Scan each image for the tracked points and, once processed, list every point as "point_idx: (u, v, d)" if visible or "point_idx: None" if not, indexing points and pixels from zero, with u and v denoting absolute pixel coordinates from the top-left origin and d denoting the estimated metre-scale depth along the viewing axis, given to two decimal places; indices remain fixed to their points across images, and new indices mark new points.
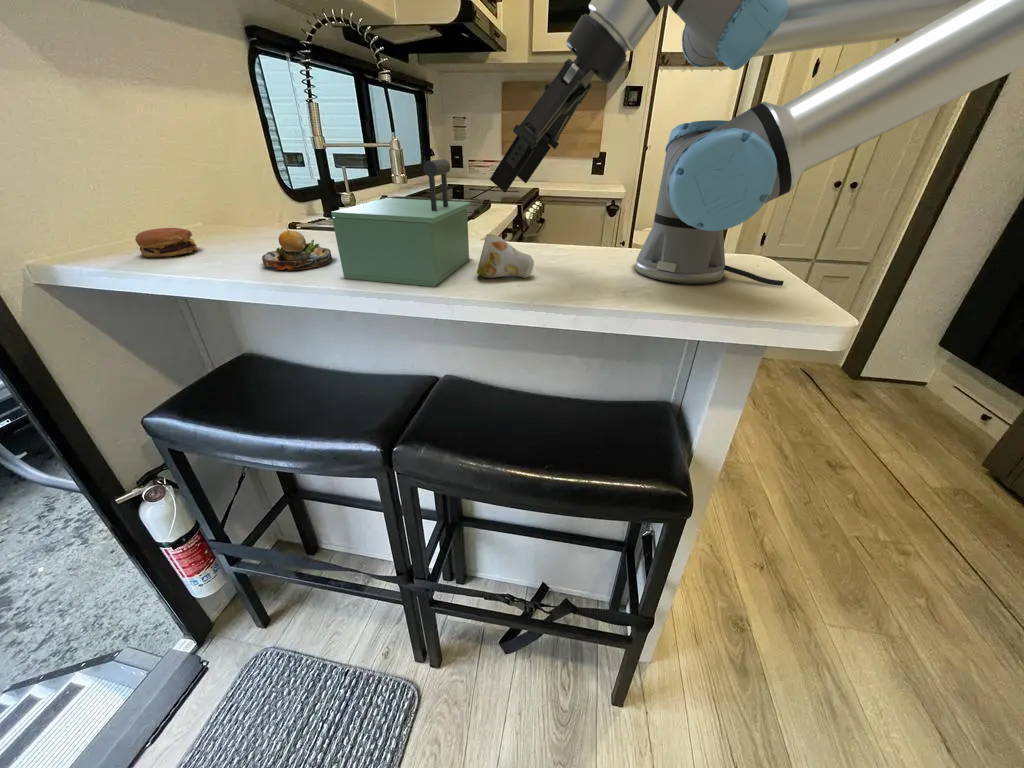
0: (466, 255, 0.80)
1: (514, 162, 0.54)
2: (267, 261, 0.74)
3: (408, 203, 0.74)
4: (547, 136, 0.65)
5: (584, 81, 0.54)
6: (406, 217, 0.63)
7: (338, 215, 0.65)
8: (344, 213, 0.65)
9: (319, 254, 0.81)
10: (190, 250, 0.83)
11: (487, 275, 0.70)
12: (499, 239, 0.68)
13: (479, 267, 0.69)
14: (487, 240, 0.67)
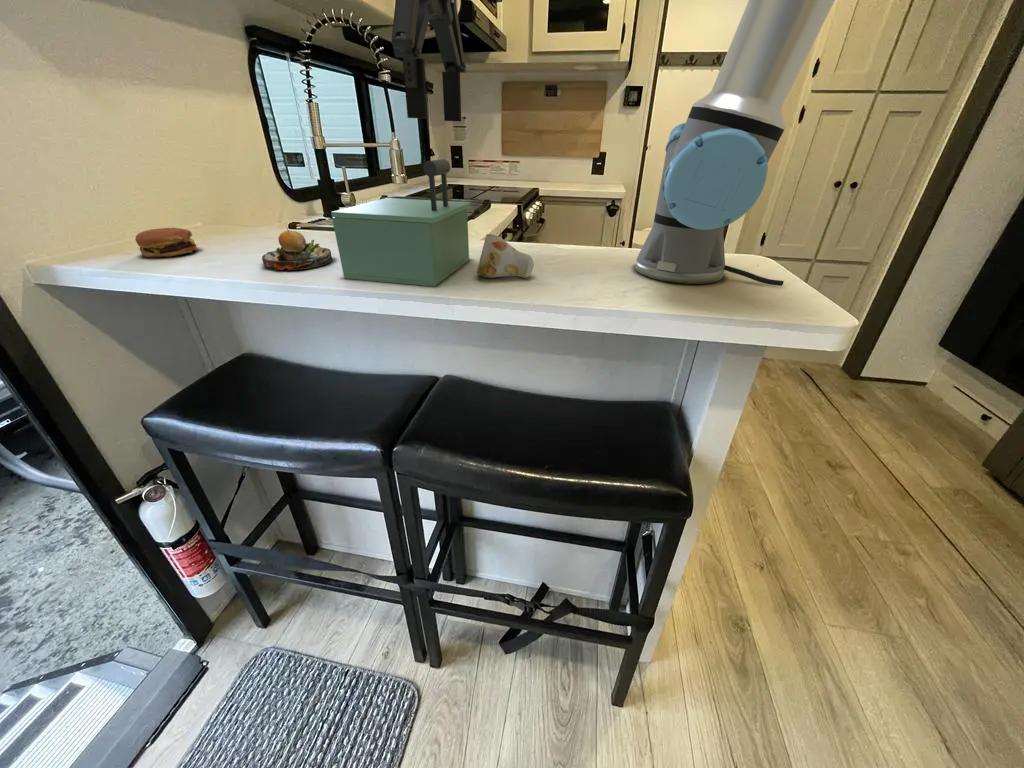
0: (466, 255, 0.80)
1: (413, 81, 0.54)
2: (267, 261, 0.74)
3: (408, 203, 0.74)
4: (451, 66, 0.65)
5: None
6: (406, 217, 0.63)
7: (338, 215, 0.65)
8: (344, 213, 0.65)
9: (319, 254, 0.81)
10: (190, 250, 0.83)
11: (487, 275, 0.70)
12: (499, 239, 0.68)
13: (479, 267, 0.69)
14: (487, 240, 0.67)
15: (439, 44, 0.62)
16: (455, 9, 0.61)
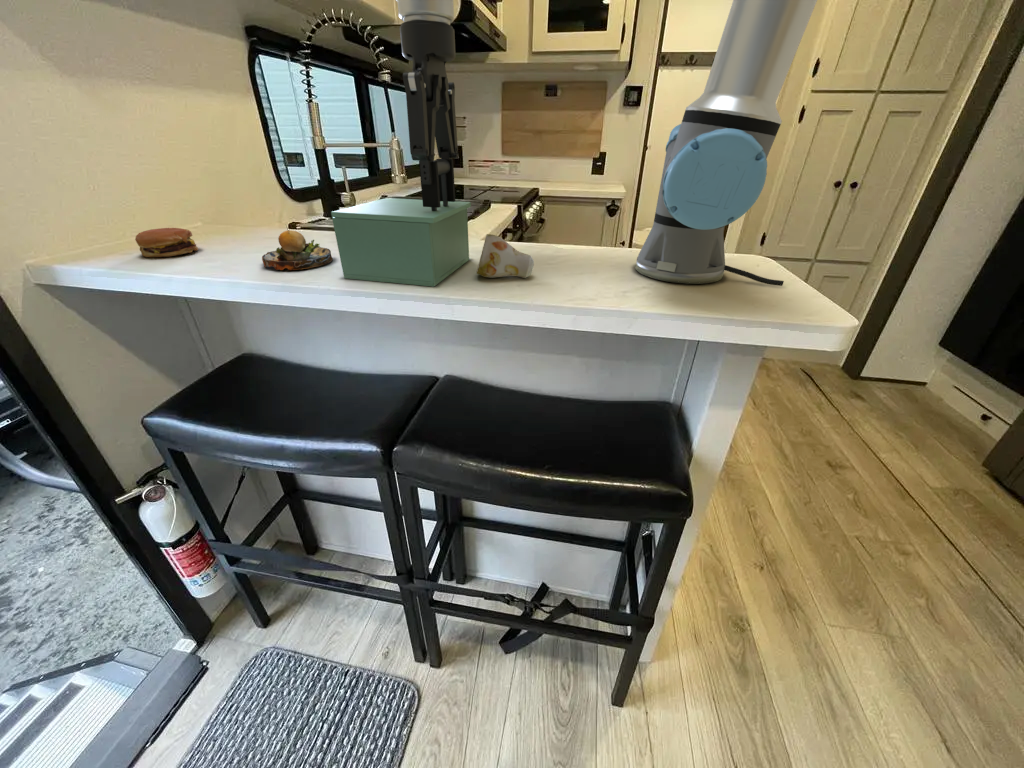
0: (466, 255, 0.80)
1: (428, 180, 0.63)
2: (267, 261, 0.74)
3: (408, 203, 0.74)
4: (445, 151, 0.68)
5: (434, 70, 0.59)
6: (406, 217, 0.63)
7: (338, 215, 0.65)
8: (344, 213, 0.65)
9: (319, 254, 0.81)
10: (190, 250, 0.83)
11: (487, 275, 0.70)
12: (499, 239, 0.68)
13: (479, 267, 0.69)
14: (487, 240, 0.67)
15: (435, 130, 0.66)
16: (453, 100, 0.66)
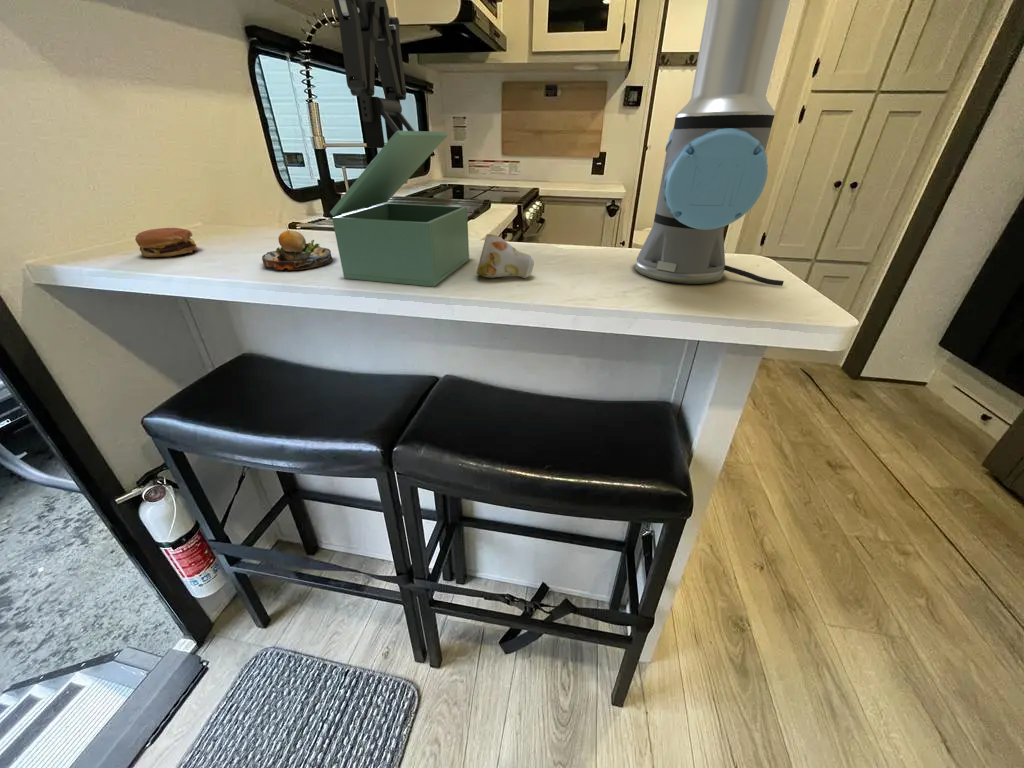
0: (466, 255, 0.80)
1: (368, 116, 0.60)
2: (267, 261, 0.74)
3: None
4: (391, 92, 0.66)
5: None
6: (378, 154, 0.59)
7: (335, 209, 0.65)
8: (338, 203, 0.64)
9: (319, 254, 0.81)
10: (190, 250, 0.83)
11: (487, 275, 0.70)
12: (499, 239, 0.68)
13: (479, 267, 0.69)
14: (487, 240, 0.67)
15: (379, 67, 0.64)
16: (397, 37, 0.63)
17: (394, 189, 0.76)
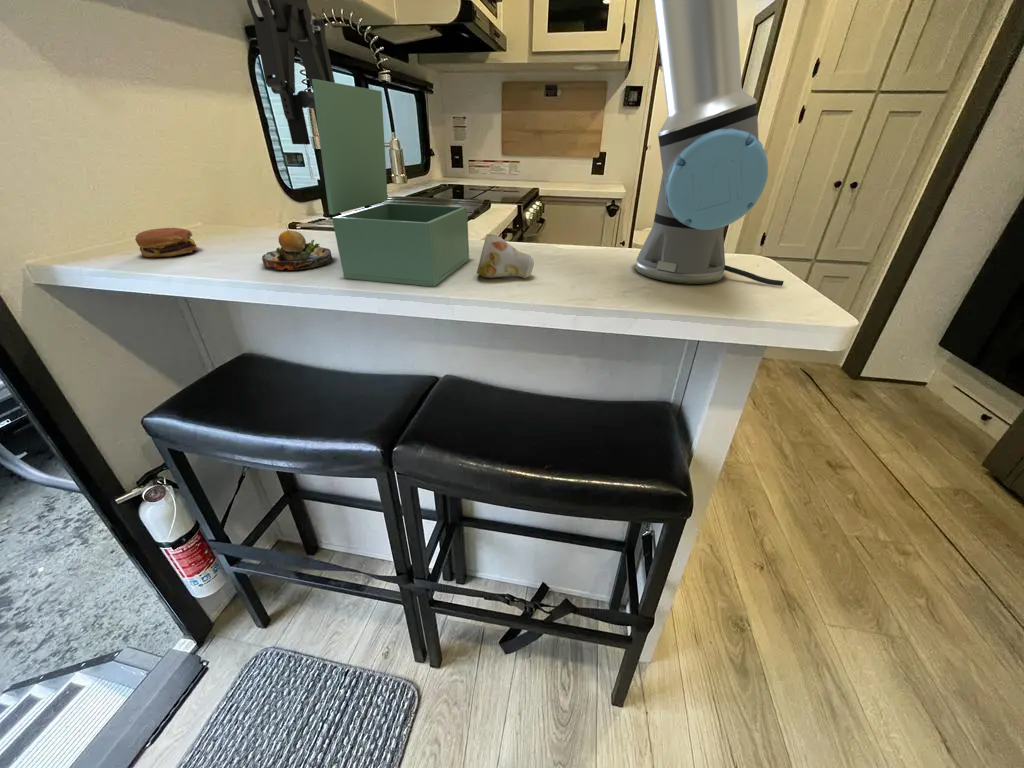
0: (466, 255, 0.80)
1: (290, 114, 0.63)
2: (267, 261, 0.74)
3: None
4: None
5: (288, 0, 0.59)
6: (317, 117, 0.58)
7: (330, 205, 0.65)
8: (327, 197, 0.64)
9: (319, 254, 0.81)
10: (190, 250, 0.83)
11: (487, 275, 0.70)
12: (499, 239, 0.68)
13: (479, 267, 0.69)
14: (487, 240, 0.67)
15: (305, 67, 0.66)
16: (322, 37, 0.66)
17: (380, 179, 0.76)
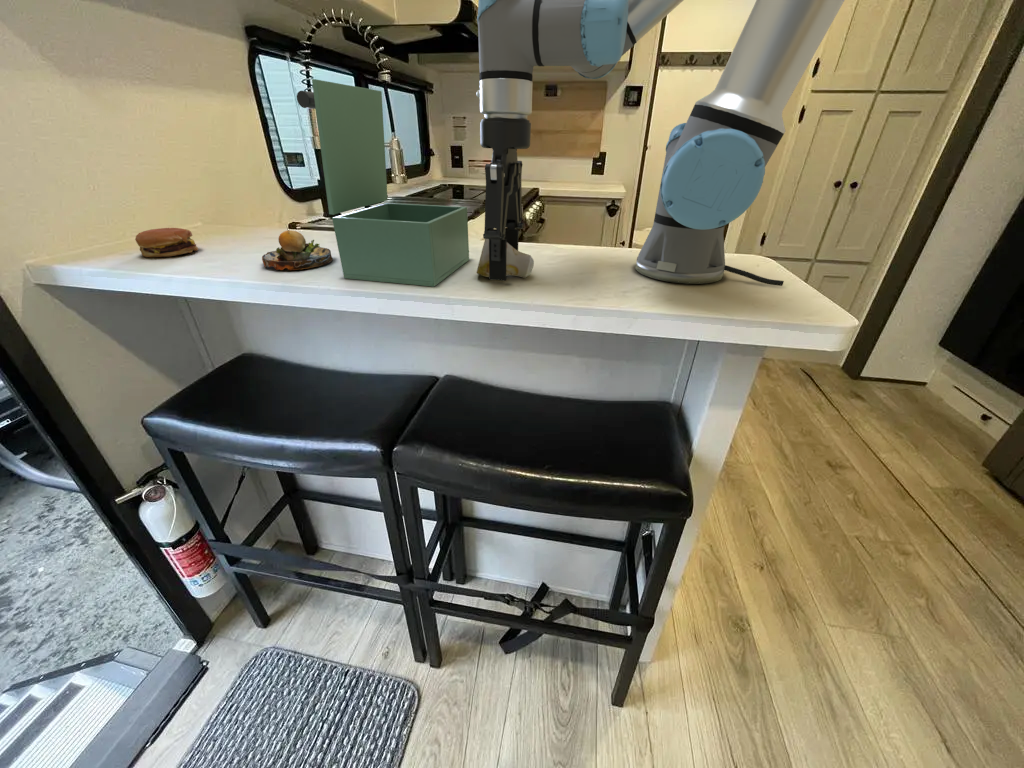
0: (466, 255, 0.80)
1: (497, 257, 0.65)
2: (267, 261, 0.74)
3: None
4: (511, 222, 0.72)
5: (510, 159, 0.62)
6: (317, 117, 0.58)
7: (330, 205, 0.65)
8: (327, 197, 0.64)
9: (319, 254, 0.81)
10: (190, 250, 0.83)
11: (487, 275, 0.70)
12: None
13: (479, 267, 0.69)
14: (487, 240, 0.68)
15: None
16: (520, 177, 0.69)
17: (380, 179, 0.76)
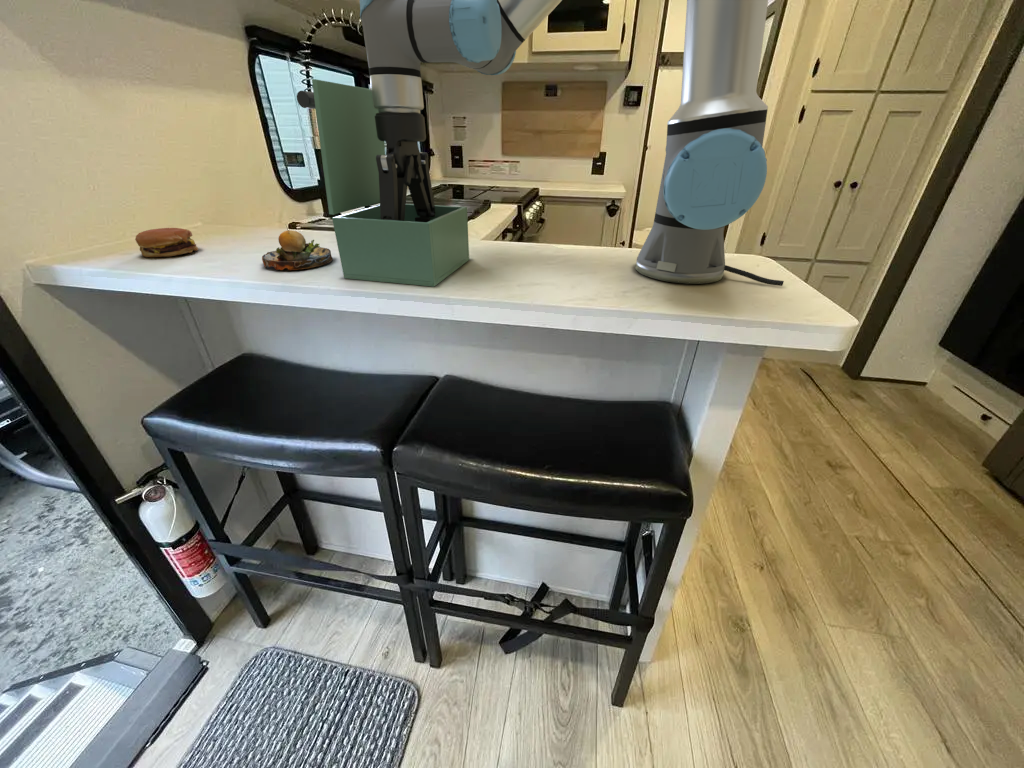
0: (466, 255, 0.80)
1: None
2: (267, 261, 0.74)
3: None
4: (422, 211, 0.76)
5: (406, 152, 0.65)
6: (317, 117, 0.58)
7: (330, 205, 0.65)
8: (327, 197, 0.64)
9: (319, 254, 0.81)
10: (190, 250, 0.83)
11: None
12: None
13: None
14: None
15: (412, 195, 0.73)
16: (427, 168, 0.72)
17: None
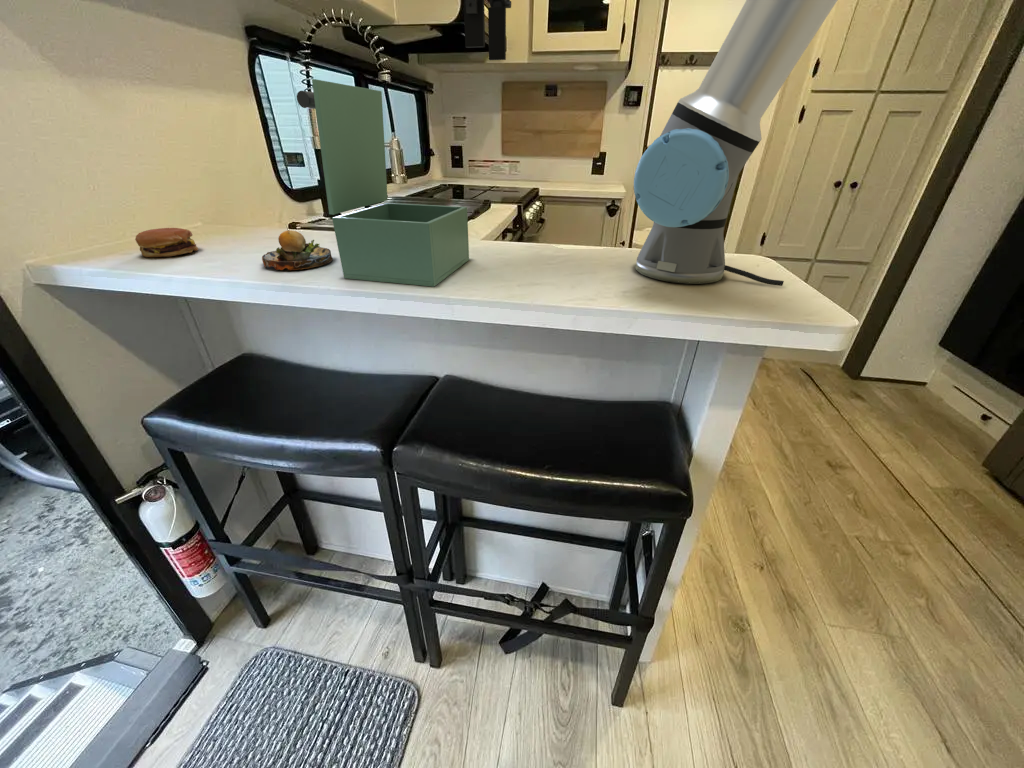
0: (466, 255, 0.80)
1: (473, 6, 0.55)
2: (267, 261, 0.74)
3: None
4: (497, 0, 0.65)
5: None
6: (317, 117, 0.58)
7: (330, 205, 0.65)
8: (327, 197, 0.64)
9: (319, 254, 0.81)
10: (190, 250, 0.83)
11: None
12: None
13: None
14: None
15: None
16: None
17: (380, 179, 0.76)
